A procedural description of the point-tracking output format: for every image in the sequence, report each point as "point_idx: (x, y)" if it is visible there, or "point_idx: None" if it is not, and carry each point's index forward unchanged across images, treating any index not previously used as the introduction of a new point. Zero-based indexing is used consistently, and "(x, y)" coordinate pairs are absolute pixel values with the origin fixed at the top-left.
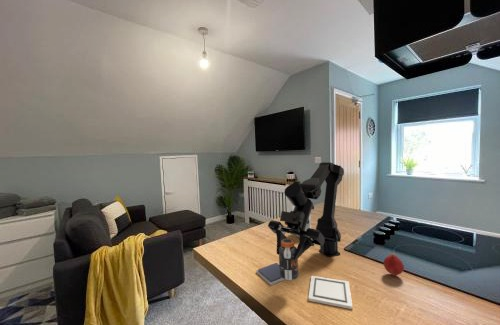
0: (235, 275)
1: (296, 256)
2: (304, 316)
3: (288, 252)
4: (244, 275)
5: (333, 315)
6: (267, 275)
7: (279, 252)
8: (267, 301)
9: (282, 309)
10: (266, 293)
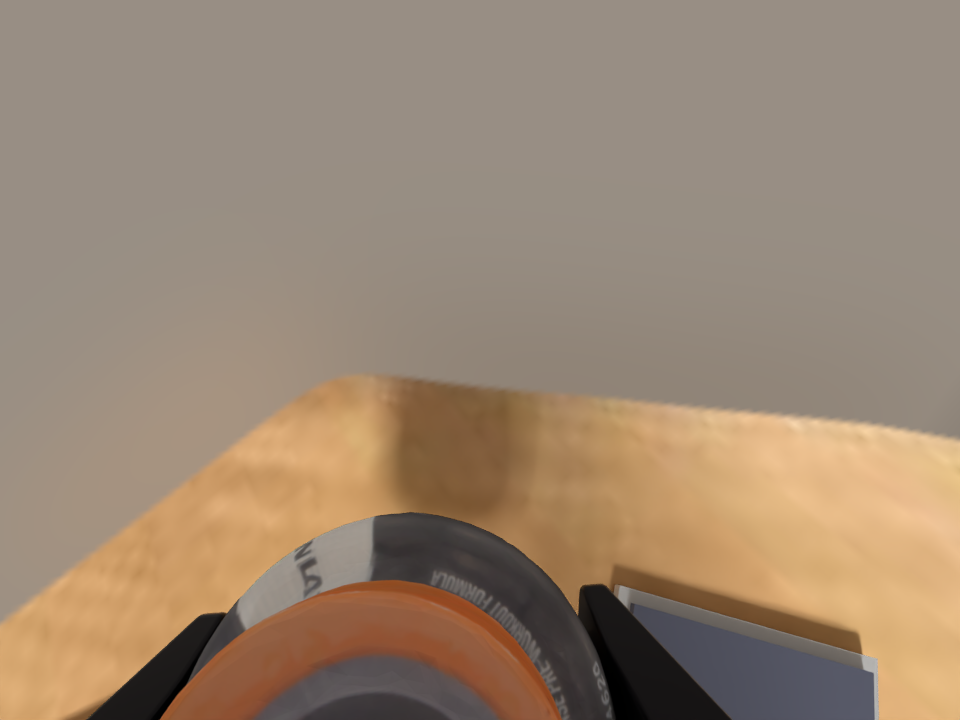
0: (923, 480)
1: (156, 668)
2: (240, 477)
3: (274, 570)
4: (880, 534)
5: (66, 625)
6: (722, 651)
7: (502, 539)
8: (507, 424)
9: (386, 433)
10: (570, 482)
